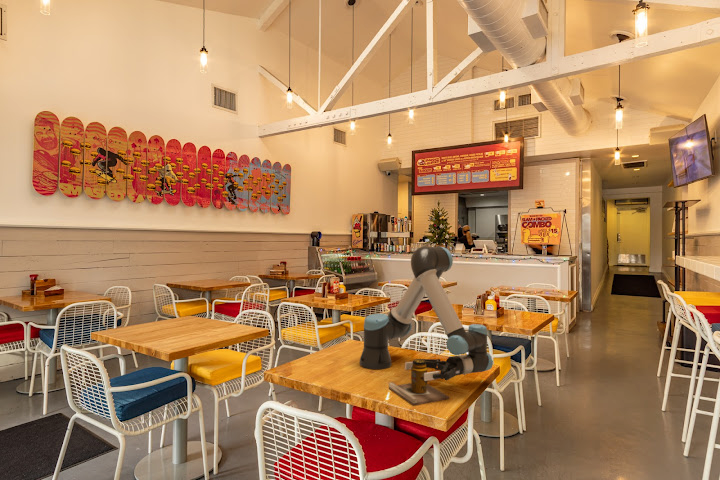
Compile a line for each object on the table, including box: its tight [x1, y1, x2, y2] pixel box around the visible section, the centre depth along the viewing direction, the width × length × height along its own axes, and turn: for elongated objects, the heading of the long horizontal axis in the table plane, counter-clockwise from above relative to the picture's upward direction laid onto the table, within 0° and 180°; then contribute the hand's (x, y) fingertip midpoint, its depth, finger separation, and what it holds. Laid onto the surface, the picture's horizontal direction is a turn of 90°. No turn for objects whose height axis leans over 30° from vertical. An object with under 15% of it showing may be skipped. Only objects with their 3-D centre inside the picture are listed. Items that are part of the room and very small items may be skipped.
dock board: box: [388, 381, 450, 406], centre depth 154 cm, size 16×18×2 cm
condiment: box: [404, 358, 430, 395], centre depth 154 cm, size 7×8×12 cm
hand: (414, 371), depth 153 cm, fingers open, 13 cm apart
